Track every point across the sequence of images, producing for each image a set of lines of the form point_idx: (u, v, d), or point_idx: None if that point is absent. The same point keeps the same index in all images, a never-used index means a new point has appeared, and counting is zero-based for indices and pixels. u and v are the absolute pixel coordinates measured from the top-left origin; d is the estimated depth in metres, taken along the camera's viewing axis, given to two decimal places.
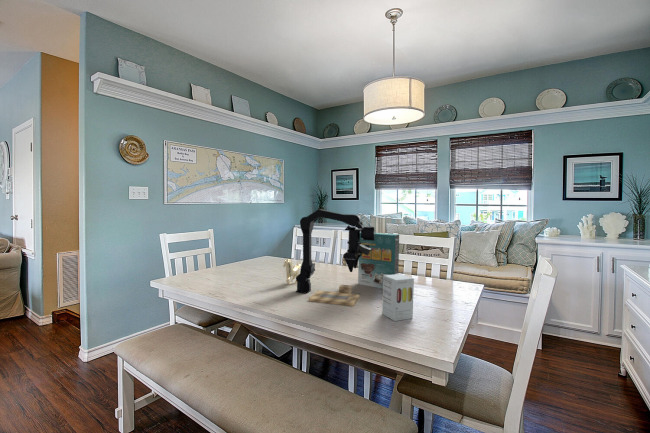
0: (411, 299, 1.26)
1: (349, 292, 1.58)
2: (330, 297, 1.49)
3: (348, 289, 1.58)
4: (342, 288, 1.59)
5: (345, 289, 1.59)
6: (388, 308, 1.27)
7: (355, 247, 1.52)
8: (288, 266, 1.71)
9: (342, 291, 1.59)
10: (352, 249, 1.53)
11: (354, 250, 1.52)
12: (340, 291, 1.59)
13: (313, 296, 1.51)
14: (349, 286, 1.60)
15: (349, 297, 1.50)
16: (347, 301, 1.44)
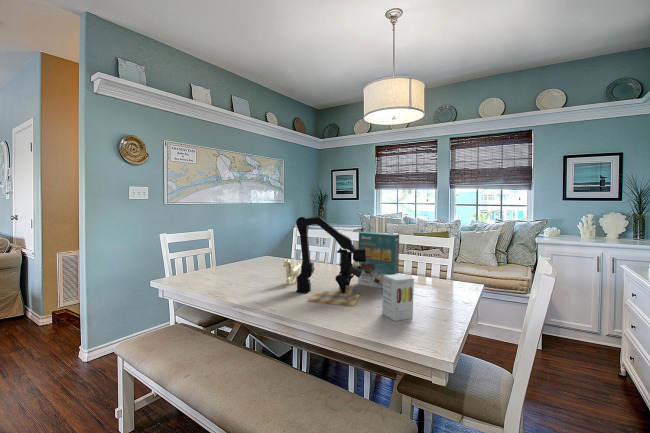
0: (411, 299, 1.26)
1: (349, 292, 1.58)
2: (330, 297, 1.49)
3: (348, 289, 1.58)
4: None
5: (345, 289, 1.59)
6: (388, 308, 1.27)
7: (347, 269, 1.57)
8: (288, 266, 1.71)
9: None
10: (344, 271, 1.57)
11: (346, 272, 1.57)
12: (340, 291, 1.59)
13: (313, 296, 1.51)
14: (349, 286, 1.60)
15: (349, 297, 1.50)
16: (347, 301, 1.44)
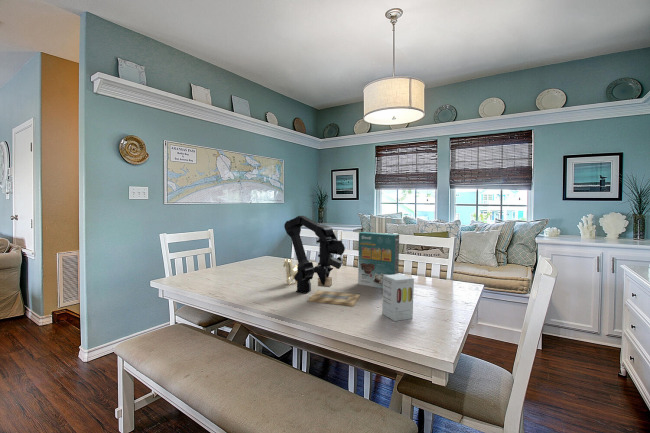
0: (411, 299, 1.26)
1: (328, 284, 1.50)
2: (330, 297, 1.49)
3: (327, 281, 1.50)
4: None
5: None
6: (388, 308, 1.27)
7: (326, 260, 1.49)
8: (288, 266, 1.71)
9: (321, 283, 1.51)
10: (323, 262, 1.49)
11: (325, 263, 1.49)
12: (319, 283, 1.51)
13: (313, 296, 1.51)
14: (328, 278, 1.52)
15: (349, 297, 1.50)
16: (347, 301, 1.44)
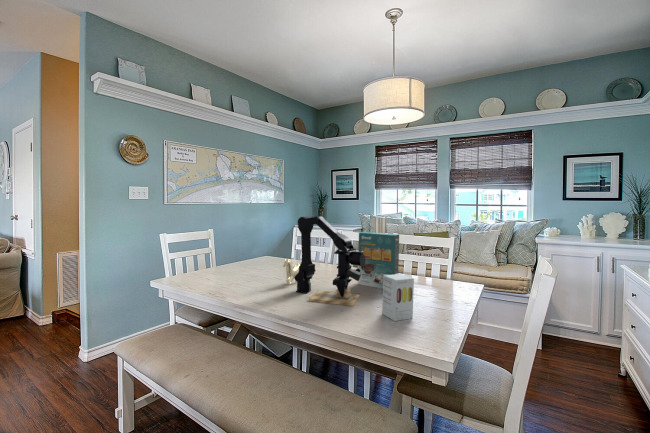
0: (411, 299, 1.26)
1: (347, 296, 1.47)
2: (330, 297, 1.49)
3: (346, 292, 1.47)
4: None
5: None
6: (388, 308, 1.27)
7: (345, 272, 1.46)
8: (288, 266, 1.71)
9: (340, 295, 1.48)
10: (342, 274, 1.46)
11: (344, 275, 1.46)
12: (337, 295, 1.48)
13: (313, 296, 1.51)
14: (347, 289, 1.49)
15: None
16: (347, 301, 1.44)
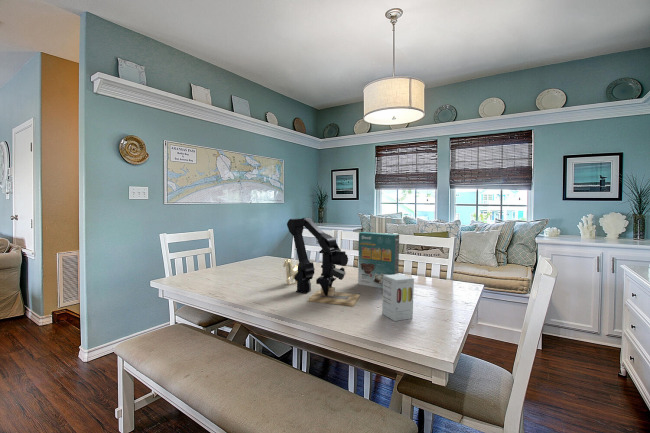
0: (411, 299, 1.26)
1: (331, 294, 1.49)
2: (330, 297, 1.49)
3: (330, 291, 1.50)
4: None
5: None
6: (388, 308, 1.27)
7: (329, 271, 1.49)
8: (288, 266, 1.71)
9: None
10: (326, 273, 1.49)
11: (328, 274, 1.49)
12: (322, 293, 1.51)
13: (313, 296, 1.51)
14: (331, 288, 1.51)
15: (349, 297, 1.50)
16: (347, 301, 1.44)
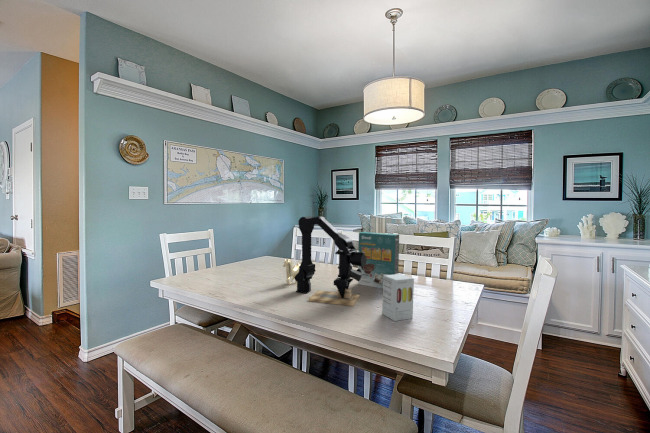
0: (411, 299, 1.26)
1: (348, 296, 1.47)
2: (330, 297, 1.49)
3: (347, 293, 1.47)
4: None
5: None
6: (388, 308, 1.27)
7: (346, 272, 1.46)
8: (288, 266, 1.71)
9: None
10: (343, 274, 1.46)
11: (345, 275, 1.46)
12: (339, 295, 1.48)
13: (313, 296, 1.51)
14: (348, 290, 1.49)
15: None
16: (347, 301, 1.44)
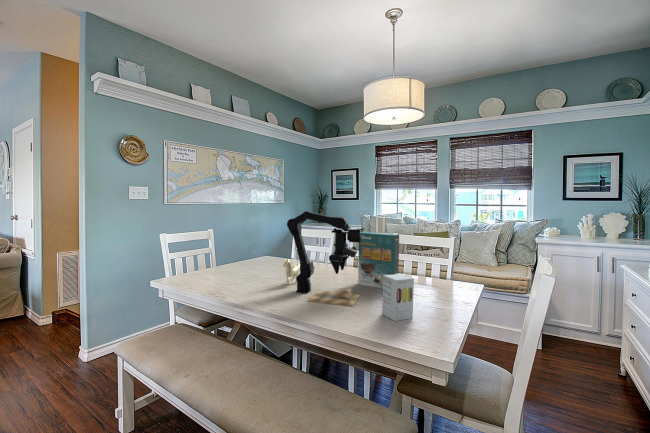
0: (411, 299, 1.26)
1: (348, 296, 1.47)
2: (330, 297, 1.49)
3: (347, 293, 1.47)
4: (341, 292, 1.48)
5: (344, 293, 1.47)
6: (388, 308, 1.27)
7: (341, 249, 1.55)
8: (288, 266, 1.71)
9: (341, 295, 1.48)
10: (338, 251, 1.55)
11: (340, 252, 1.55)
12: (339, 295, 1.48)
13: (313, 296, 1.51)
14: (348, 290, 1.49)
15: None
16: (347, 301, 1.44)
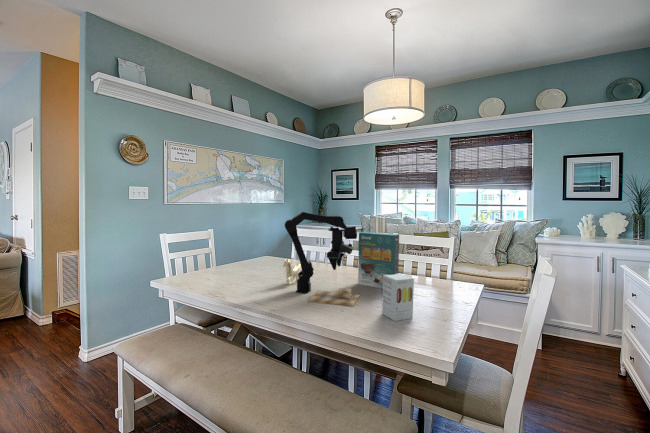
0: (411, 299, 1.26)
1: (348, 296, 1.47)
2: (330, 297, 1.49)
3: (347, 293, 1.47)
4: (341, 292, 1.48)
5: (344, 293, 1.47)
6: (388, 308, 1.27)
7: (338, 246, 1.62)
8: (288, 266, 1.71)
9: (341, 295, 1.48)
10: (335, 248, 1.63)
11: (337, 249, 1.62)
12: (339, 295, 1.48)
13: (313, 296, 1.51)
14: (348, 290, 1.49)
15: None
16: (347, 301, 1.44)
